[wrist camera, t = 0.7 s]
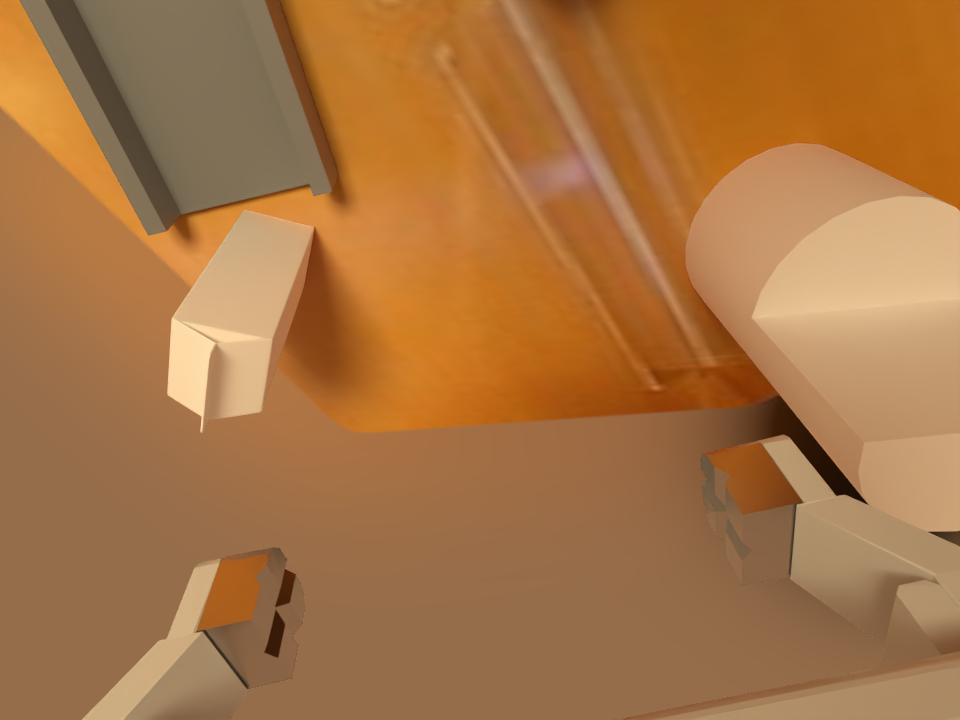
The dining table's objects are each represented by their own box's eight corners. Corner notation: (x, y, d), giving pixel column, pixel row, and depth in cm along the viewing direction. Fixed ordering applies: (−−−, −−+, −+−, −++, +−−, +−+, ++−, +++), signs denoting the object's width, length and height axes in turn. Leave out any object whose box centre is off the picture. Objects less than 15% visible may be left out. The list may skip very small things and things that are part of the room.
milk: (237, 269, 56) (146, 427, 38) (244, 207, 53) (148, 345, 34) (306, 286, 57) (250, 445, 39) (316, 225, 54) (262, 367, 36)
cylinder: (840, 309, 64) (1084, 517, 40) (674, 324, 63) (825, 545, 40) (893, 134, 54) (1254, 276, 31) (698, 150, 53) (915, 307, 30)
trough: (-55, -214, 37) (-108, -232, 34) (183, -280, 37) (156, -306, 33) (167, 215, 53) (148, 235, 49) (338, 174, 52) (332, 191, 48)
